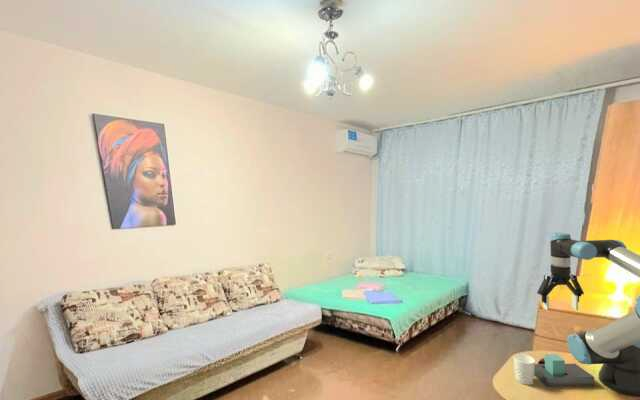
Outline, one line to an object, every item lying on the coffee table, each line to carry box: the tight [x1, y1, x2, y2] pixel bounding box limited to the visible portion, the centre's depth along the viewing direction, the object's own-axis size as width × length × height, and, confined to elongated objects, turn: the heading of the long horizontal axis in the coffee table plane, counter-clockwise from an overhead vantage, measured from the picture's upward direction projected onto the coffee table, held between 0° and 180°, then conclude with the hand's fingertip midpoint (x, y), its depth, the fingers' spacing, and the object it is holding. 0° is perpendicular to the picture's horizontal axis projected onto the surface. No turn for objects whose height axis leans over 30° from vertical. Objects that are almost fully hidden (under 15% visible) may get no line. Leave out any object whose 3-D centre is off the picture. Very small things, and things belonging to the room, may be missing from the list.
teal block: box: [544, 353, 566, 375], centre depth 136 cm, size 5×5×10 cm
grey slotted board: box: [534, 363, 595, 388], centre depth 136 cm, size 20×10×4 cm, turn 89°
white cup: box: [513, 353, 536, 386], centre depth 136 cm, size 8×8×10 cm
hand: (560, 309), depth 147 cm, fingers open, 13 cm apart
